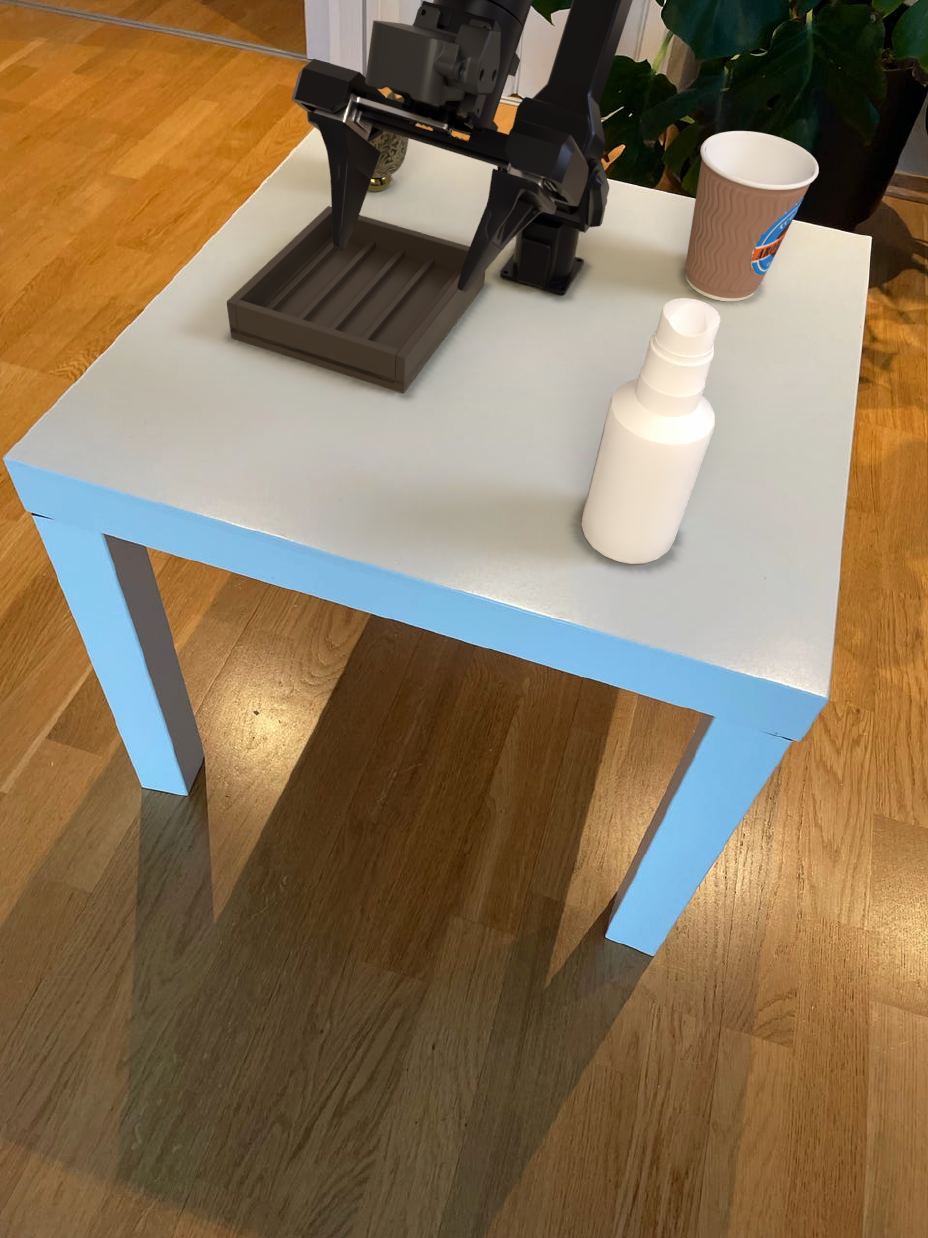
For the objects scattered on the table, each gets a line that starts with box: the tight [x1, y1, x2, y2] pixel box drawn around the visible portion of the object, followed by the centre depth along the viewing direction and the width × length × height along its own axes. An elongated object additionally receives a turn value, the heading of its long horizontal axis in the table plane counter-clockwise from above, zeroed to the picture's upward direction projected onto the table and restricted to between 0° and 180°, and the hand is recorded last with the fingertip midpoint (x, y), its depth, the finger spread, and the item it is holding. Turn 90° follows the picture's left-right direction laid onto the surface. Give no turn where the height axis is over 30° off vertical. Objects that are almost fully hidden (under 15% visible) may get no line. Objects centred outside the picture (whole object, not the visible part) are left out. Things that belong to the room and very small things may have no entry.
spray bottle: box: [581, 297, 721, 565], centre depth 62 cm, size 7×7×18 cm
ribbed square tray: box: [226, 205, 486, 394], centre depth 82 cm, size 18×16×4 cm
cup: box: [367, 91, 409, 192], centre depth 95 cm, size 8×7×8 cm
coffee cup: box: [685, 130, 820, 302], centre depth 87 cm, size 10×10×12 cm
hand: (398, 268), depth 62 cm, fingers open, 9 cm apart
